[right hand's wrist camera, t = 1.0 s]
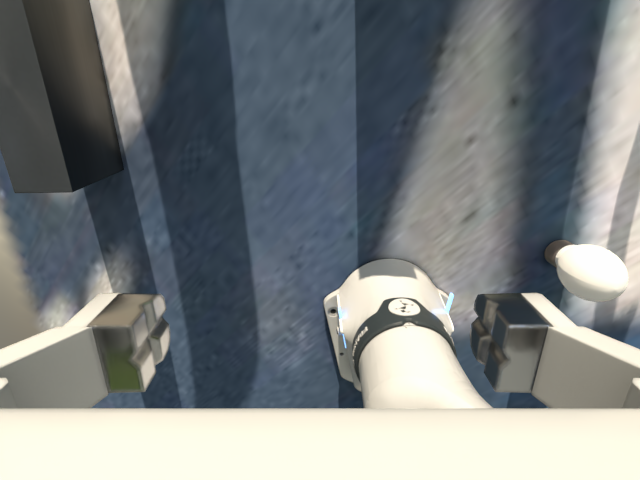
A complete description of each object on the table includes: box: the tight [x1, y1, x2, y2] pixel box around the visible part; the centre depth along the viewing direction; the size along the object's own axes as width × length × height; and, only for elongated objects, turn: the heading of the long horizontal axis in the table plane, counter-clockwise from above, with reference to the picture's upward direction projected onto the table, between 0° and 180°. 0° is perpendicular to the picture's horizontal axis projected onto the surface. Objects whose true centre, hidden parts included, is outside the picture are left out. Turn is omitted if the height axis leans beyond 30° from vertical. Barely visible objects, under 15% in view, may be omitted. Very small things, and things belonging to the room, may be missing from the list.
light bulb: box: [545, 240, 629, 302], centre depth 49 cm, size 7×7×11 cm
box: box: [0, 0, 124, 193], centre depth 41 cm, size 20×6×11 cm, turn 1°
